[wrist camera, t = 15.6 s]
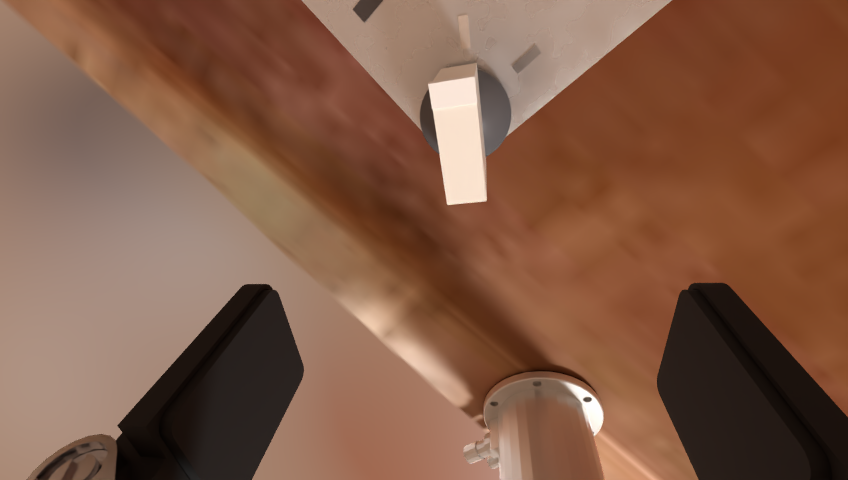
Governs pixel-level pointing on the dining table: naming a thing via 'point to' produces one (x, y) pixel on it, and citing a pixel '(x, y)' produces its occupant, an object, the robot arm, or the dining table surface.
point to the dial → (465, 127)
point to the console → (481, 42)
